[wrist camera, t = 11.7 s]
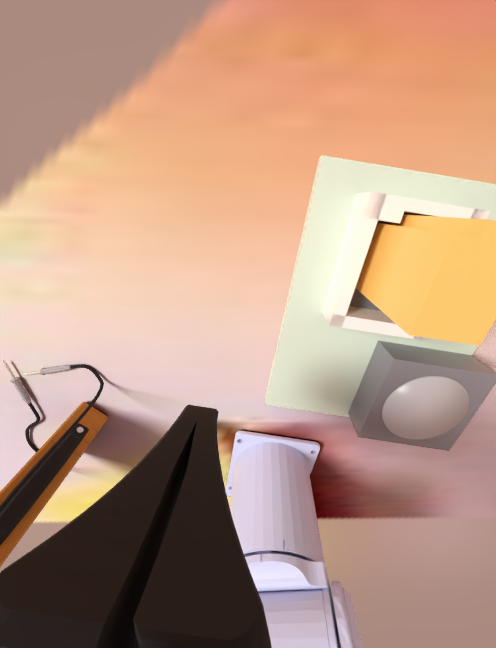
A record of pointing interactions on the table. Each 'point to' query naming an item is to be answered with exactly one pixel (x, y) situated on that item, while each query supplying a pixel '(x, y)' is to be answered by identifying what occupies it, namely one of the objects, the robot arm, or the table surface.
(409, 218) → the plug
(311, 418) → the table surface
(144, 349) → the table surface
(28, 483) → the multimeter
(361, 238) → the frame
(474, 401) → the grey dome button
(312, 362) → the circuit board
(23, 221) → the table surface
